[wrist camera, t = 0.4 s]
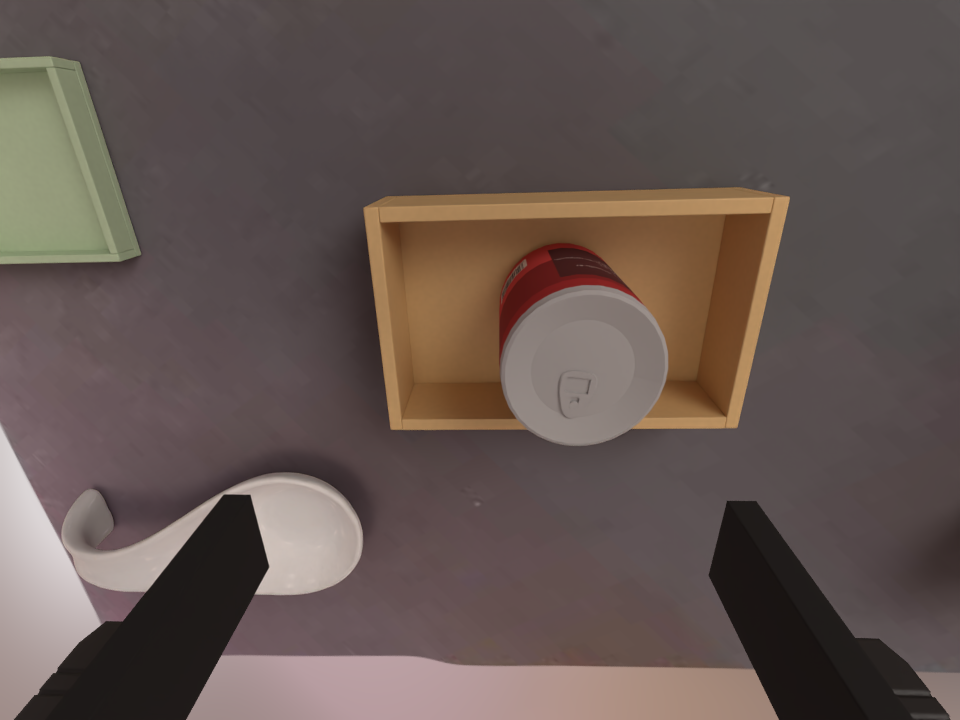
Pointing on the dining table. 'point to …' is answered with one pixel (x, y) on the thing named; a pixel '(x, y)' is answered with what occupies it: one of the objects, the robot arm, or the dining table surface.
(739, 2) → the dining table surface
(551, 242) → the open wooden box
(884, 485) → the dining table surface
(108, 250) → the tray
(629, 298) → the canned food
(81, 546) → the spoon rest
